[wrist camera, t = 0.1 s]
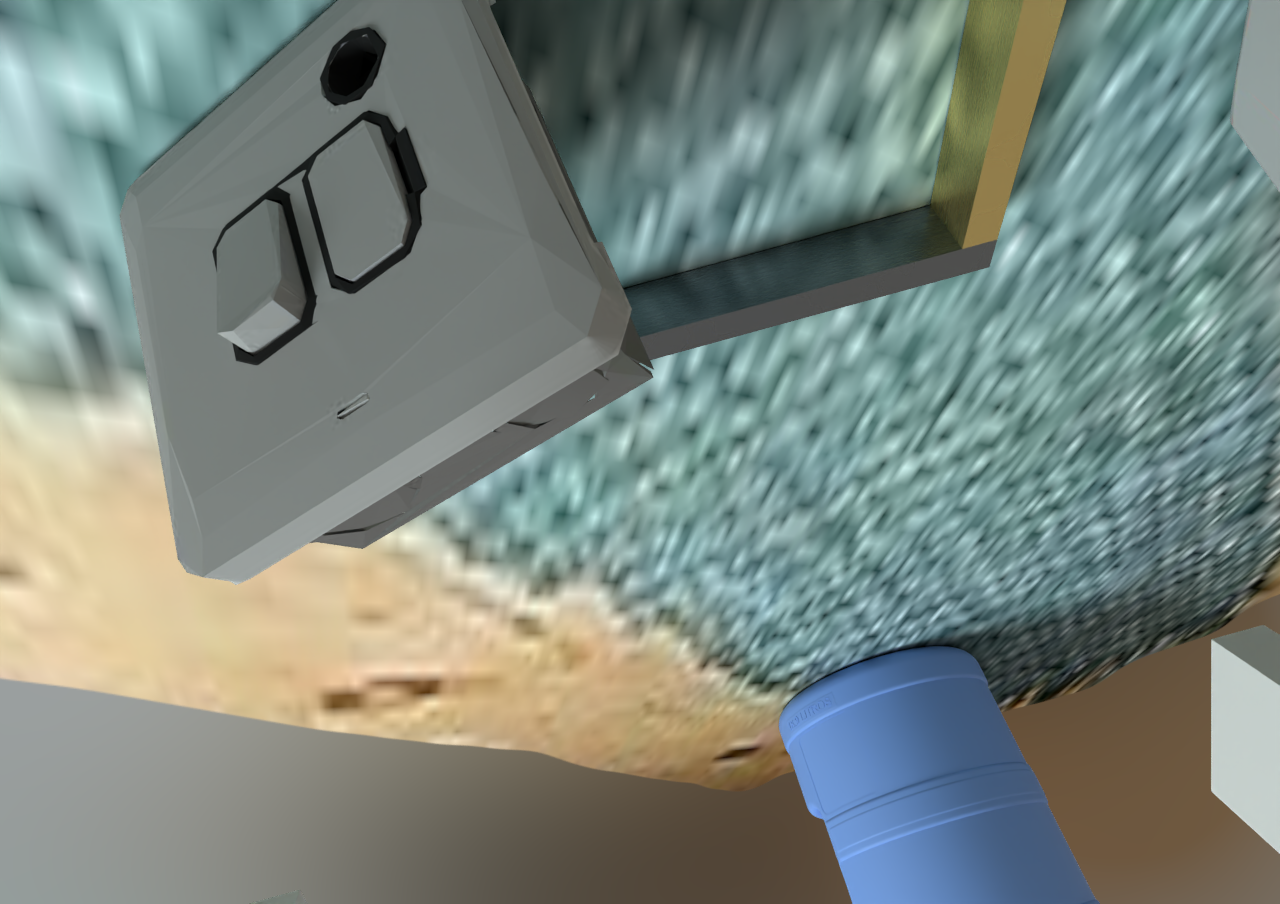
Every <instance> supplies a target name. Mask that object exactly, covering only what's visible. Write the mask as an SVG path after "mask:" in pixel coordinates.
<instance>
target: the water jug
mask: <svg viewBox="0 0 1280 904" xmlns="http://www.w3.org/2000/svg"><path fill="white" fill-rule="evenodd" d="M779 729H780V733H781V736H782V739H783V742H784V745H785V748H786V750H787V752H788V753H789V754H790V757H791V760H792V763H793V766H794V769H795V772H796V774H797V778H798V781H799V783H800V786H801V789H802V792H803V795H804V798H805V801H806V804H807V807H808V810H809V811H810V813H811V814H812V815H814V816H815V817H818V818H821V819H824V821H825V824H826V827H827V830H828V833H829V836H830V839H831V842H832V844H833V847H834V850H835V853H836V856H837V859H838V862H839V865H840V868H841V871H842V874H843V876H844V879H845V882H846V885H847V888H848V891H849V894H850V897H851V900H852V904H1100V903H1099V902H1098V901H1097V900H1096V899H1095V897H1094V895H1093V893H1092V891H1091V889H1090V887H1089V885H1088V884H1087V882H1086V879H1085V878H1084V876H1083V874H1082V872H1081V870H1080V868H1079V866H1078V864H1077V862H1076V860H1075V858H1074V856H1073V854H1072V852H1071V850H1070V848H1069V846H1068V844H1067V842H1066V840H1065V838H1064V836H1063V834H1062V832H1061V830H1060V828H1059V826H1058V824H1057V822H1056V820H1055V818H1054V816H1053V814H1052V812H1051V810H1050V808H1049V806H1048V801H1047V798H1046V797H1045V793H1044V791H1043V789H1042V787H1041V786H1040V784H1039V782H1038V780H1037V778H1036V776H1035V774H1034V772H1033V771H1032V769H1031V767H1030V766H1029V765H1028V764H1027V763H1026V761H1025V759H1024V757H1023V755H1022V753H1021V751H1020V749H1019V747H1018V745H1017V743H1016V741H1015V739H1014V737H1013V735H1012V733H1011V731H1010V729H1009V728H1008V725H1007V723H1006V722H1005V720H1004V718H1003V716H1002V714H1001V712H1000V710H999V708H998V706H997V704H996V702H995V700H994V698H993V696H992V694H991V692H990V690H989V688H988V682H987V679H986V677H985V675H984V673H983V671H982V669H981V667H980V666H979V664H978V662H977V660H976V659H975V658H974V657H973V656H972V655H971V654H969V653H968V652H966V651H964V650H961V649H958V648H954V647H946V646H932V647H921V648H914V649H908V650H903V651H898V652H894V653H890V654H886V655H883V656H879V657H876V658H873V659H869V660H866V661H864V662H861V663H858V664H855V665H853V666H850V667H848V668H845V669H843V670H841V671H838V672H836V673H834V674H832V675H830V676H828V677H826V678H824V679H822V680H820V681H818V682H816V683H815V684H813V685H811V686H810V687H808V688H807V689H805V690H804V691H802V692H801V693H799V694H798V695H797V696H796V697H795V698H793V699H792V700H791V701H790V702H789V703H788V704H787V706H786V707H785V708H784V710H783V712H782V714H781V716H780V720H779Z"/></svg>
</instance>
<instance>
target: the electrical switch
mask: <svg viewBox="0 0 1280 904" xmlns="http://www.w3.org/2000/svg"><path fill="white" fill-rule="evenodd" d="M494 3H496V1H495V0H337V1H336V2H335V3H334V4H333V5H332V6H331V7H329V8H328V9H327V10H326V11H325V12H324V13H323V14H322V15H320V16H319V17H318V18H317V19H316V20H315V21H314V22H313V23H312V24H310V25H309V26H308V27H307V28H306V29H305V30H304V31H303V32H301V33H300V34H299V35H298V36H297V37H296V38H295V39H294V40H292V41H291V42H290V43H289V44H288V45H287V46H286V47H285V48H283V49H282V50H281V51H280V52H279V53H278V54H277V55H276V56H274V57H273V58H272V59H271V60H270V61H269V62H268V63H267V64H265V65H264V66H263V67H262V68H261V69H260V70H259V71H258V72H256V73H255V74H254V75H253V76H252V77H251V78H250V79H249V80H247V81H246V82H245V83H244V84H243V85H242V86H241V87H240V88H239V89H237V90H236V91H235V92H234V93H233V94H232V95H231V96H230V97H228V98H227V99H226V100H225V101H224V102H223V103H222V104H221V105H219V106H218V107H217V108H216V109H215V110H214V111H213V112H212V113H210V114H209V115H208V116H207V117H206V118H205V119H204V120H203V121H201V122H200V123H199V124H198V125H197V126H196V127H195V128H194V129H192V130H191V131H190V132H189V133H188V134H187V135H186V136H185V137H183V138H182V139H181V140H180V141H179V142H178V143H177V144H176V145H174V146H173V147H172V148H171V149H170V150H169V151H168V152H167V153H166V154H164V155H163V156H162V157H161V158H160V159H159V160H158V161H157V162H155V163H154V164H153V165H152V166H151V167H150V168H149V169H148V170H146V171H145V172H144V173H143V174H142V175H141V176H140V177H139V178H137V179H136V180H135V181H134V183H133V184H132V185H131V186H130V187H129V189H128V190H127V193H126V197H125V200H124V203H123V206H122V209H121V213H120V221H121V227H122V233H123V239H124V245H125V251H126V257H127V263H128V269H129V275H130V281H131V287H132V293H133V298H134V304H135V310H136V316H137V322H138V328H139V334H140V339H141V345H142V351H143V357H144V363H145V369H146V375H147V380H148V386H149V392H150V398H151V404H152V410H153V416H154V421H155V427H156V433H157V439H158V445H159V451H160V457H161V462H162V468H163V474H164V480H165V486H166V492H167V498H168V503H169V509H170V515H171V521H172V527H173V533H174V539H175V544H176V550H177V556H178V560H179V561H180V563H181V564H182V566H183V567H184V569H185V570H186V572H187V573H191V574H194V575H197V576H201V577H205V578H212V579H218V580H225V581H230V582H232V583H234V584H235V585H237V584H239V583H242V582H244V581H246V580H248V579H250V578H252V577H254V576H255V575H257V574H259V573H260V572H262V571H264V570H265V569H267V568H269V567H270V566H272V565H273V564H275V563H277V562H278V561H280V560H282V559H283V558H285V557H287V556H288V555H290V554H292V553H293V552H295V551H296V550H298V549H300V548H301V547H303V546H305V545H306V544H308V543H313V542H320V543H327V544H334V545H341V546H348V547H354V548H361V549H363V548H365V547H366V546H368V545H370V544H372V543H373V542H375V541H377V540H378V539H380V538H382V537H383V536H385V535H387V534H389V533H390V532H392V531H394V530H395V529H397V528H399V527H400V526H402V525H404V524H405V523H407V522H409V521H411V520H412V519H414V518H416V517H417V516H419V515H421V514H422V513H424V512H426V511H428V510H429V509H431V508H433V507H434V506H436V505H438V504H439V503H441V502H443V501H444V500H446V499H448V498H450V497H451V496H453V495H455V494H456V493H458V492H460V491H461V490H463V489H465V488H467V487H468V486H470V485H472V484H473V483H475V482H477V481H478V480H480V479H482V478H483V477H485V476H487V475H489V474H490V473H492V472H494V471H495V470H497V469H499V468H500V467H502V466H504V465H506V464H507V463H509V462H511V461H512V460H514V459H516V458H517V457H519V456H521V455H522V454H524V453H526V452H528V451H529V450H531V449H533V448H534V447H536V446H538V445H539V444H541V443H543V442H545V441H546V440H548V439H550V438H551V437H553V436H555V435H556V434H558V433H560V432H561V431H563V430H565V429H567V428H568V427H570V426H572V425H573V424H575V423H577V422H578V421H580V420H582V419H584V418H585V417H587V416H589V415H590V414H592V413H594V412H595V411H597V410H599V409H600V408H602V407H604V406H606V405H607V404H609V403H611V402H612V401H614V400H616V399H617V398H619V397H621V396H623V395H624V394H626V393H628V392H629V391H631V390H633V389H634V388H636V387H638V386H639V385H641V384H643V383H645V382H646V381H648V380H650V379H651V378H653V376H652V373H651V371H649V370H648V369H646V368H645V367H643V366H642V365H640V364H639V363H637V362H636V361H638V362H640V363H642V364H644V365H646V366H648V367H650V368H652V369H654V368H653V366H652V364H651V362H650V359H649V357H648V355H647V353H646V350H645V348H644V346H643V344H642V341H641V339H640V337H639V335H638V332H637V330H636V328H635V326H634V323H633V321H632V319H631V317H630V314H631V311H632V308H631V306H630V304H629V302H628V299H627V297H626V295H625V292H624V290H623V288H622V286H621V283H620V281H619V279H618V277H617V274H616V272H615V270H614V268H613V265H612V263H611V261H610V259H609V256H608V254H607V252H606V250H605V247H604V245H603V243H602V242H597V240H596V237H595V235H594V233H593V231H592V228H591V226H590V224H589V222H588V219H587V217H586V215H585V213H584V210H583V208H582V206H581V204H580V201H579V199H578V197H577V195H576V192H575V190H574V188H573V186H572V183H571V181H570V179H569V177H568V174H567V172H566V170H565V167H564V165H563V163H562V161H561V158H560V156H559V154H558V152H557V149H556V147H555V145H554V143H553V140H552V138H551V136H550V134H549V131H548V129H547V127H546V125H545V122H544V120H543V118H542V116H541V113H540V111H539V109H538V106H537V104H536V102H535V100H534V97H533V95H532V93H531V91H530V88H529V87H528V86H527V85H526V84H525V83H524V82H523V81H522V80H521V77H520V75H519V73H518V71H517V68H516V66H515V64H514V61H513V59H512V57H511V55H510V52H509V50H508V48H507V45H506V43H505V41H504V38H503V36H502V34H501V32H500V29H499V27H498V25H497V22H496V20H495V18H494V16H493V13H492V11H491V8H490V6H491V5H493V4H494ZM628 356H629V357H628ZM630 357H631V358H633V359H635V360H636V361H634V360H633V359H631V358H630ZM594 394H595V398H594V399H591V400H589V399H590V398H591V397H592V396H593V395H594ZM588 400H589V401H588ZM506 422H507V423H506ZM491 431H493V432H491ZM420 476H421V477H420ZM404 512H405V513H404Z"/></svg>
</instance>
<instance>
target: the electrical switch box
mask: <svg viewBox="0 0 1280 904" xmlns="http://www.w3.org/2000/svg"><path fill="white" fill-rule="evenodd" d="M1230 122H1231V125H1232V126H1233V127H1234V129H1235V130H1236V132H1237V133H1238V134H1239V136H1240V137H1241V139H1242V140H1243V141H1244V143H1245V144H1246V146H1247V147H1248V149H1249V150H1250V151H1251V153H1252V154H1253V156H1254V157H1255V158H1256V160H1257V161H1258V163H1259V164H1260V165H1261V167H1262V168H1263V170H1264V171H1265V172H1266V174H1267V175H1268V177H1269V178H1270V179H1271V181H1272V182H1273V184H1274V185H1275V186H1276V188H1277V189H1278V191H1279V192H1280V0H1249V3H1248V8H1247V14H1246V20H1245V26H1244V32H1243V37H1242V43H1241V49H1240V55H1239V60H1238V64H1237V70H1236V77H1235V84H1234V91H1233V99H1232V106H1231V113H1230Z"/></svg>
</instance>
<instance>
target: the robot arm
mask: <svg viewBox="0 0 1280 904" xmlns="http://www.w3.org/2000/svg"><path fill="white" fill-rule="evenodd" d="M1211 645H1212V646H1211V651H1212V652H1211V658H1212V661H1211V662H1212V664H1211V667H1212V668H1211V670H1212V671H1211V680H1212V682H1211V686H1212V687H1211V692H1212V694H1211V709H1212V710H1211V711H1212V712H1211V715H1212V716H1211V720H1212V721H1211V727H1212V728H1211V742H1212V743H1211V758H1212V759H1211V772H1212V773H1211V791H1212V792H1213V793H1214V794H1215V795H1216V796H1217V797H1218V798H1219V799H1220V800H1221V801H1223V802H1224V803H1225V804H1226V805H1227V806H1228V807H1229V808H1230V809H1231V810H1232V811H1234V812H1235V813H1236V814H1237V815H1238V816H1239V817H1240V818H1241V819H1242V820H1243V821H1245V822H1246V823H1247V824H1248V825H1249V826H1250V827H1251V828H1252V829H1253V830H1254V831H1256V832H1257V833H1258V834H1259V835H1260V836H1261V837H1262V838H1263V839H1264V840H1265V841H1266V842H1268V843H1269V844H1270V845H1271V846H1272V847H1273V848H1274V849H1275V850H1276V851H1277V852H1279V853H1280V635H1279V634H1277V633H1276V632H1274V631H1272V630H1271V629H1269V628H1267V627H1266V626H1264V625H1262V626H1258V627H1255V628H1251V629H1247V630H1244V631H1240V632H1237V633H1233V634H1229V635H1225V636H1222V637H1218V638H1215V639H1212V644H1211ZM250 904H307V902H306V900H305V898H304V896H303V894H302V892H301V890H297V891H294V892H290V893H286V894H283V895H279V896H276V897H272V898H268V899H265V900H261V901H257V902H254V903H250Z"/></svg>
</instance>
